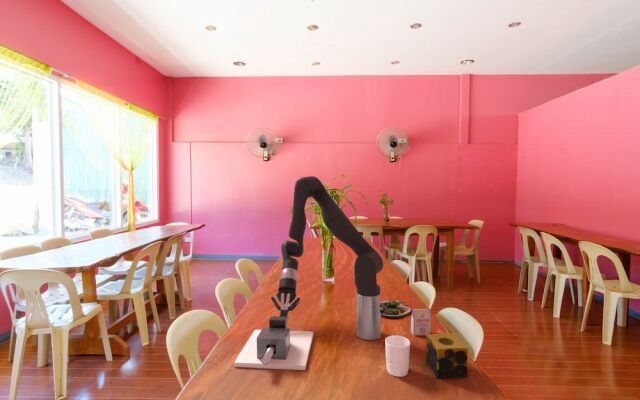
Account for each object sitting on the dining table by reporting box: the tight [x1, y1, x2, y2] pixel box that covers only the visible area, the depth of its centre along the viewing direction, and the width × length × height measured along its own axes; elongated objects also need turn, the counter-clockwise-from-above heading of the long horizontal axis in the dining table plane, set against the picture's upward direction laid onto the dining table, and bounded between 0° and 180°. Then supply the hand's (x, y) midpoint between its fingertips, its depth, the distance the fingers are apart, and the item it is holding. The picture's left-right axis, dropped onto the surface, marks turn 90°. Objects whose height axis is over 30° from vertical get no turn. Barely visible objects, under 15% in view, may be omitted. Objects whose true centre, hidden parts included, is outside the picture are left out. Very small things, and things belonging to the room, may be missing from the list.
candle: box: [425, 332, 469, 380], centre depth 106 cm, size 10×10×10 cm
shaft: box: [262, 315, 288, 365], centre depth 113 cm, size 6×20×9 cm, turn 175°
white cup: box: [384, 334, 411, 378], centre depth 106 cm, size 8×8×10 cm
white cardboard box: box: [410, 308, 432, 337], centre depth 131 cm, size 4×7×10 cm, turn 90°
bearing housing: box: [257, 327, 291, 360], centre depth 115 cm, size 10×8×7 cm
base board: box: [233, 329, 314, 371], centre depth 120 cm, size 24×24×2 cm
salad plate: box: [380, 300, 412, 320], centre depth 156 cm, size 19×18×5 cm
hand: (283, 320), depth 131 cm, fingers closed
